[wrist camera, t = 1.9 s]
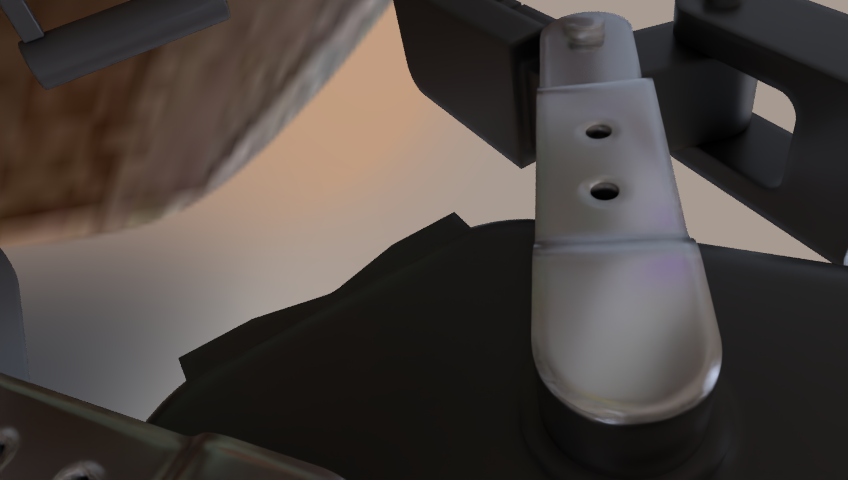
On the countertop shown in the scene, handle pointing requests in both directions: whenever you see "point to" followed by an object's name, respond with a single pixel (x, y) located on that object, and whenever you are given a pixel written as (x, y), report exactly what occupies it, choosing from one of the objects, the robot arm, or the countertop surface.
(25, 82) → the countertop surface
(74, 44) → the drawer
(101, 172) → the countertop surface
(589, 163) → the robot arm
